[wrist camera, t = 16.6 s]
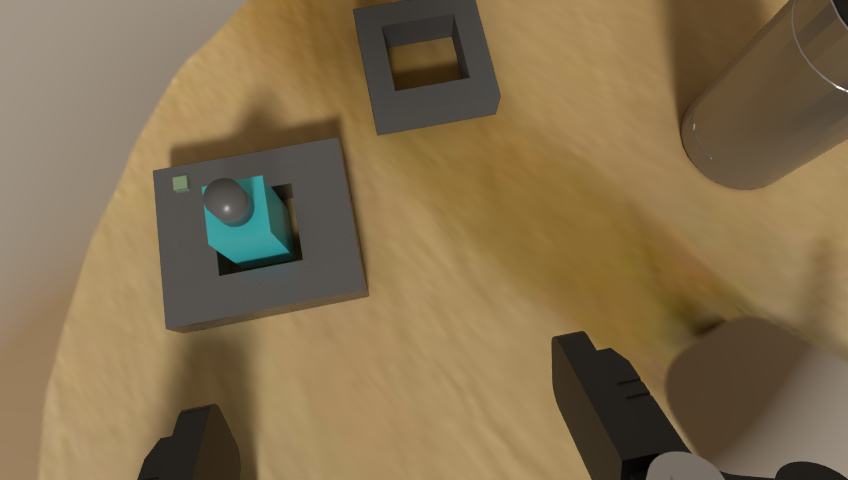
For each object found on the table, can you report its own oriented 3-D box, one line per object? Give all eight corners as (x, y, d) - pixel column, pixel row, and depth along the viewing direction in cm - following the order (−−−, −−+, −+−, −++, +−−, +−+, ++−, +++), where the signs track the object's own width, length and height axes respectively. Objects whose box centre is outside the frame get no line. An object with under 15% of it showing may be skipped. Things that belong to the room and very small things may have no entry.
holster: (469, 13, 49) (472, -11, 46) (495, 114, 46) (500, 95, 43) (356, 32, 48) (352, 9, 45) (377, 135, 46) (374, 118, 43)
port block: (343, 153, 45) (337, 135, 42) (368, 296, 42) (364, 288, 39) (170, 184, 44) (151, 169, 41) (183, 333, 41) (163, 328, 38)
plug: (288, 210, 44) (251, 160, 34) (295, 258, 43) (259, 220, 33) (237, 220, 44) (186, 172, 34) (244, 269, 43) (193, 234, 33)
